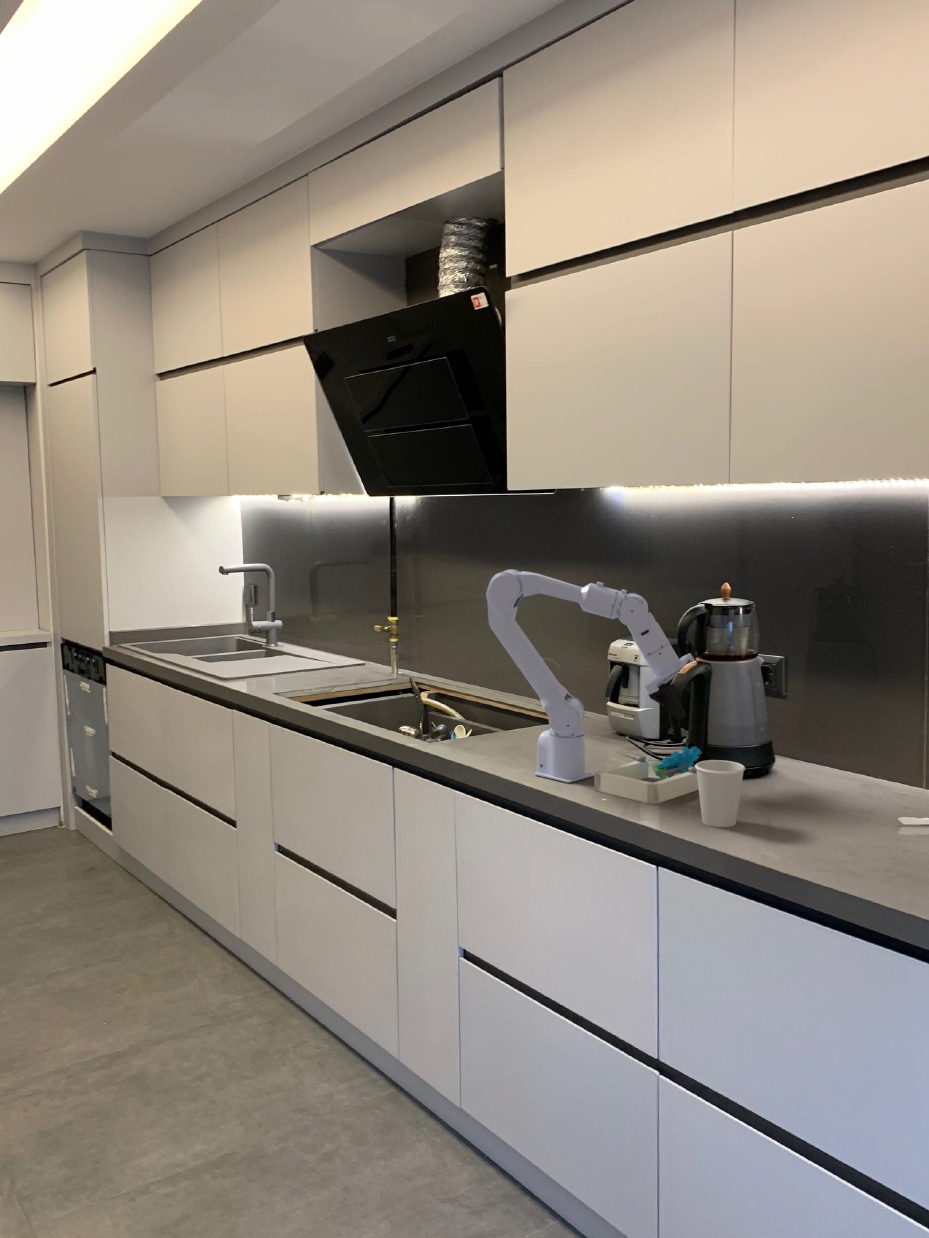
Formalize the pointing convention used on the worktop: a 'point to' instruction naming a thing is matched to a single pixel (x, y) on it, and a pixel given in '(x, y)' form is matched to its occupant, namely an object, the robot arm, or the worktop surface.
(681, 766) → the gear
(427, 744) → the worktop surface
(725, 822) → the dixie cup
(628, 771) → the gear housing
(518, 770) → the worktop surface
